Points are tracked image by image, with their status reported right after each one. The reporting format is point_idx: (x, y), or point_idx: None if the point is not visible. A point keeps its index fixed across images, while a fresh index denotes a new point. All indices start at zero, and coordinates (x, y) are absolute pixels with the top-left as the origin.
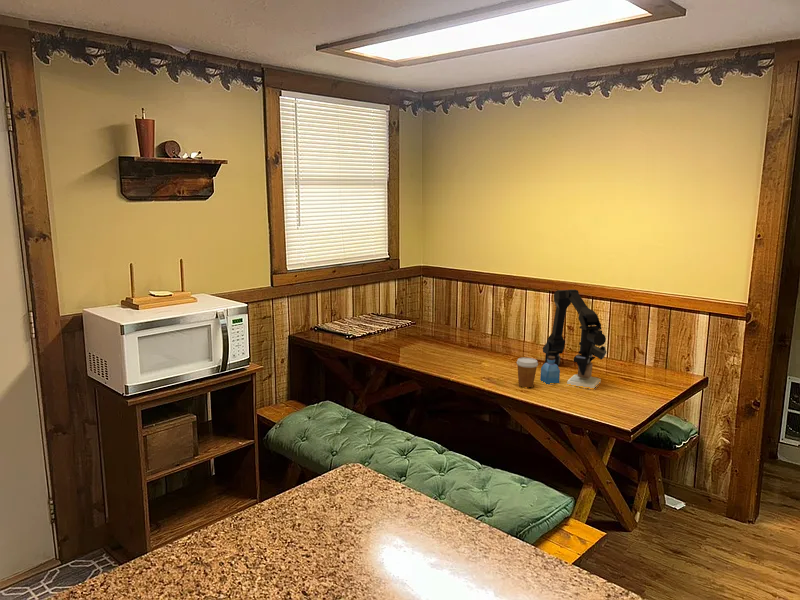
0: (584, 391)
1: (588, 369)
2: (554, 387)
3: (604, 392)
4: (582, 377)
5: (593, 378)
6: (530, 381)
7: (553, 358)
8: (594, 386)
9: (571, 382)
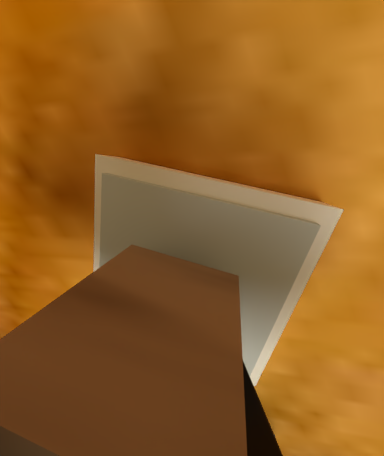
0: (376, 270)
1: (239, 393)
2: (320, 417)
3: (376, 98)
4: None
5: (136, 217)
6: None
7: None
8: (314, 201)
9: (263, 359)
